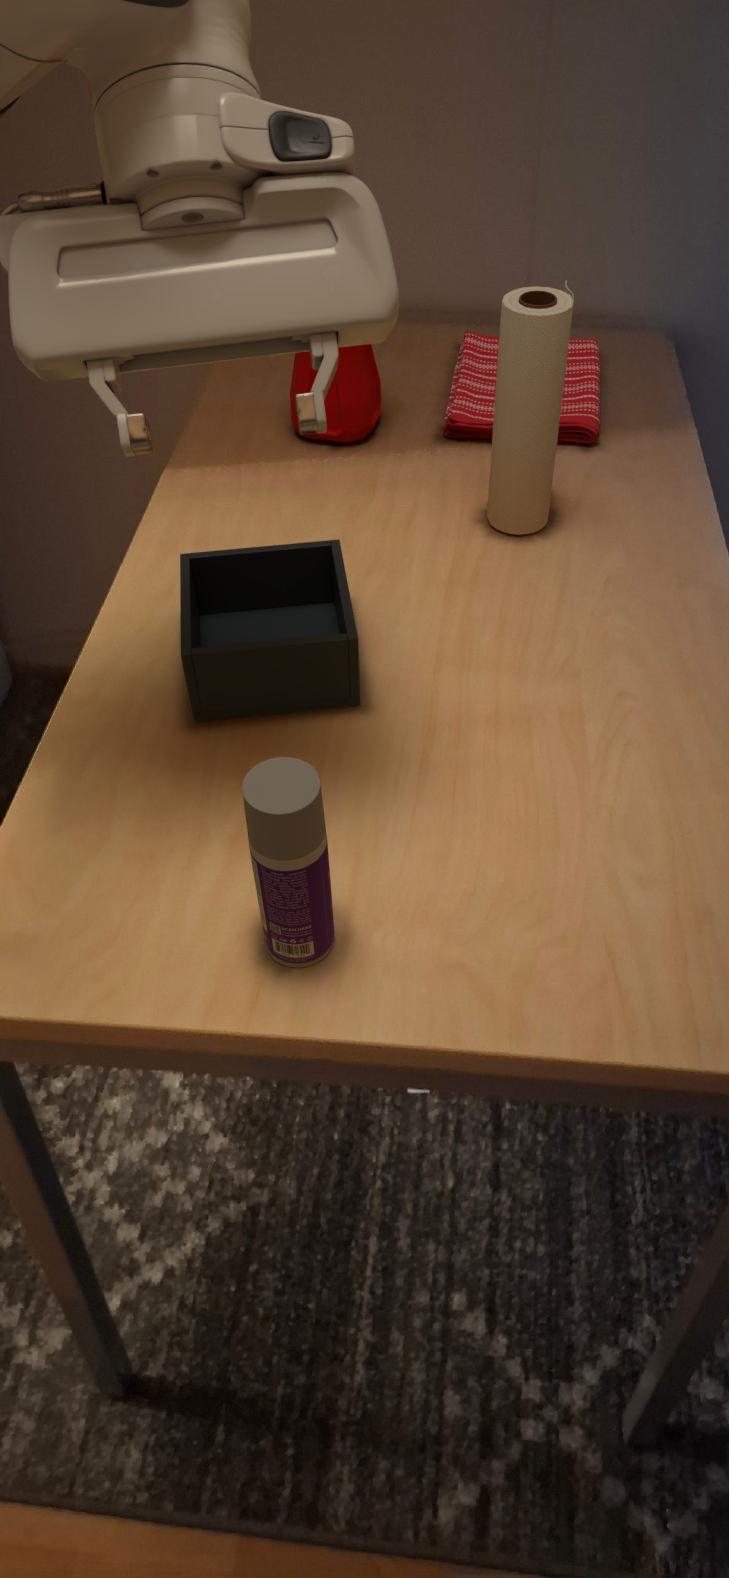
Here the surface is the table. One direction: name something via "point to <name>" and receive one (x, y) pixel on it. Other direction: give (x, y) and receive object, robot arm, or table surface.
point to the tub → (268, 631)
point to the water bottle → (342, 393)
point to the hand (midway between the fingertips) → (225, 442)
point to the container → (290, 859)
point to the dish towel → (478, 386)
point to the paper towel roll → (528, 406)
